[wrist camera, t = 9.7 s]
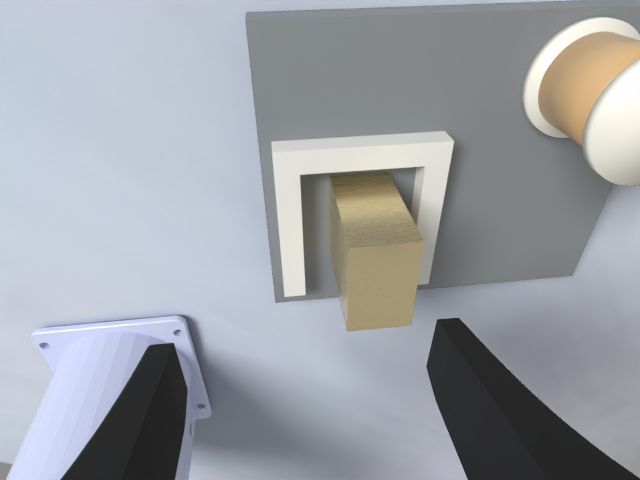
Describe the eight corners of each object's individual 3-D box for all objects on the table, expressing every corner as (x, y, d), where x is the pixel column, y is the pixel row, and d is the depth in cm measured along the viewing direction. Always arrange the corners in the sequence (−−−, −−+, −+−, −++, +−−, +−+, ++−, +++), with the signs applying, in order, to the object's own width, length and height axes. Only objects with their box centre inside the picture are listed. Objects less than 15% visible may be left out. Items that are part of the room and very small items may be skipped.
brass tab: (381, 246, 21) (411, 325, 17) (329, 251, 20) (346, 331, 16) (387, 171, 18) (424, 241, 14) (329, 175, 18) (349, 248, 14)
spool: (608, 129, 18) (694, 181, 15) (509, 136, 18) (572, 190, 14) (655, 13, 16) (773, 41, 12) (539, 18, 15) (626, 48, 12)
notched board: (557, 258, 25) (583, 288, 23) (274, 283, 23) (275, 317, 21) (661, -3, 17) (715, 8, 15) (246, 12, 15) (244, 25, 13)
